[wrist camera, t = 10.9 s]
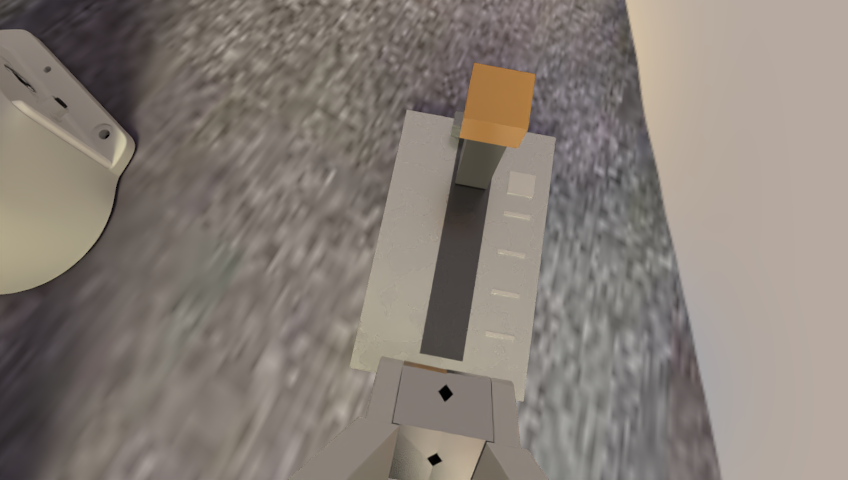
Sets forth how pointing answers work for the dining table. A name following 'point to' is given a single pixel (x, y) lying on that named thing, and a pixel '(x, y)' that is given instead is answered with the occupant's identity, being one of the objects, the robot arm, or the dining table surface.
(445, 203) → the console board
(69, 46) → the dining table surface
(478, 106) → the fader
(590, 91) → the dining table surface
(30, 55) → the robot arm
